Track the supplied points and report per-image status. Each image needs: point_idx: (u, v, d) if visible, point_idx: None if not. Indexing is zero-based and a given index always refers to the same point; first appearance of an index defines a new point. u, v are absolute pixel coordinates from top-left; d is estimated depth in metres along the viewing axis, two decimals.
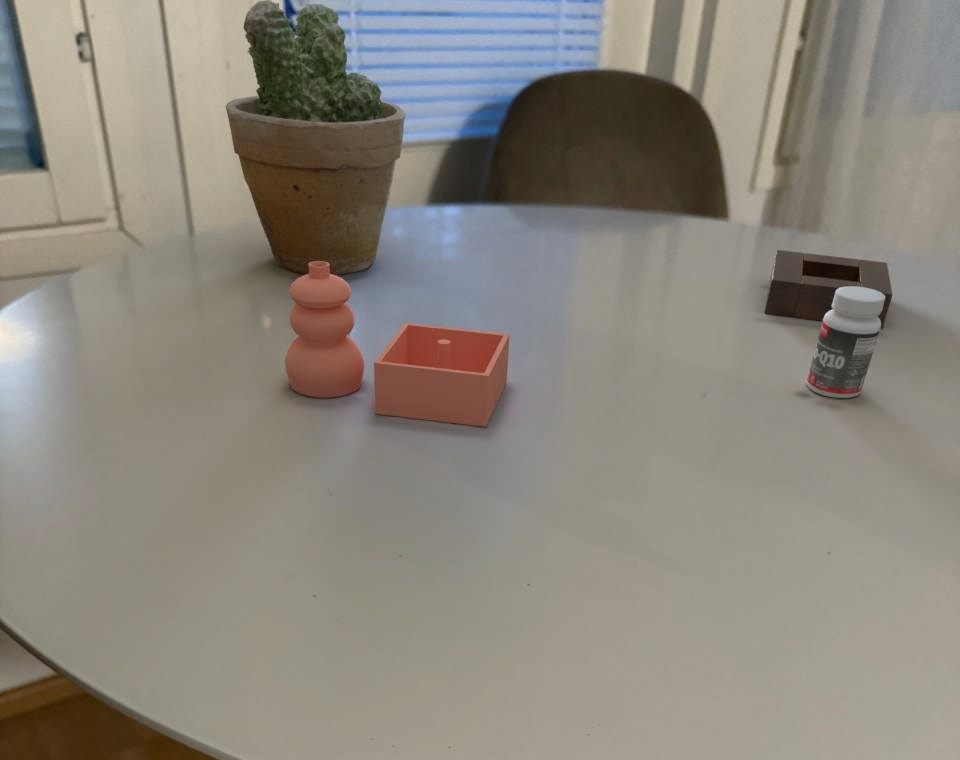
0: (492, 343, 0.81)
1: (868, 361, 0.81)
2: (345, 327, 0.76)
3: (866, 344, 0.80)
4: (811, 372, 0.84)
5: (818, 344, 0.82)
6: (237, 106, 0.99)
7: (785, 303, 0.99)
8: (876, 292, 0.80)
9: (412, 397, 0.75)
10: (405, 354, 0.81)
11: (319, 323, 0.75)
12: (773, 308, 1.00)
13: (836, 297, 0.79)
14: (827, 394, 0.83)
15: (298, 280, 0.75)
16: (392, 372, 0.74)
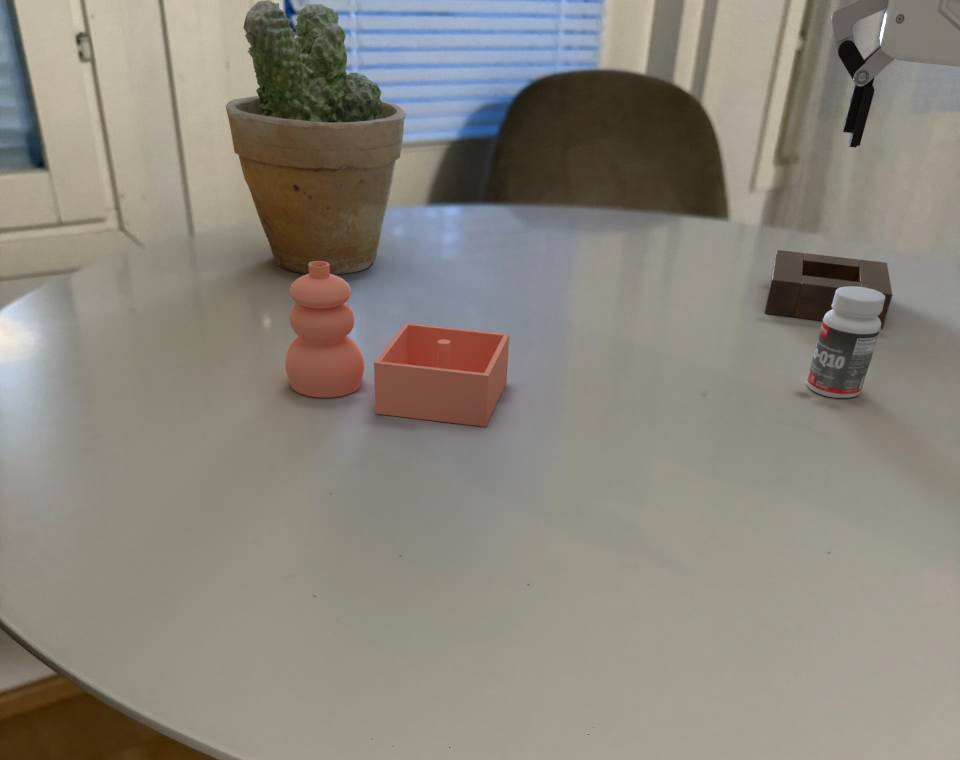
0: (492, 343, 0.81)
1: (868, 361, 0.81)
2: (345, 327, 0.76)
3: (866, 344, 0.80)
4: (811, 372, 0.84)
5: (818, 344, 0.82)
6: (237, 106, 0.99)
7: (785, 303, 0.99)
8: (876, 292, 0.80)
9: (412, 397, 0.75)
10: (405, 354, 0.81)
11: (319, 323, 0.75)
12: (773, 308, 1.00)
13: (836, 297, 0.79)
14: (827, 394, 0.83)
15: (298, 280, 0.75)
16: (392, 372, 0.74)
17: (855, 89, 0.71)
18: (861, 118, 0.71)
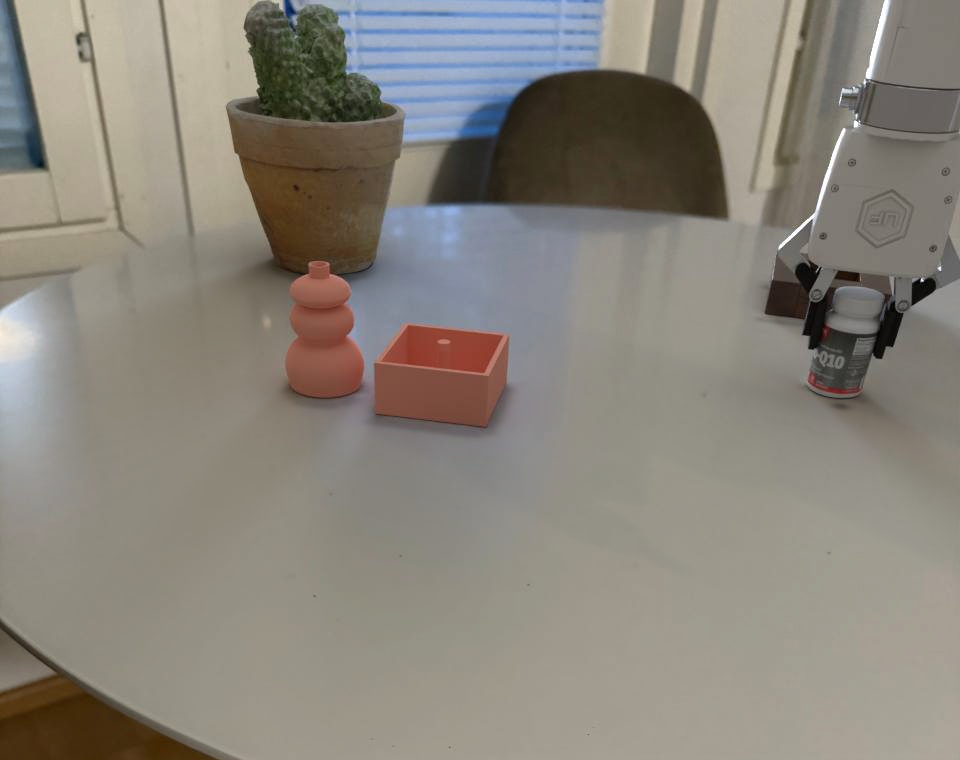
0: (492, 343, 0.81)
1: (868, 361, 0.81)
2: (345, 327, 0.76)
3: (866, 344, 0.80)
4: (811, 372, 0.84)
5: (818, 344, 0.82)
6: (237, 106, 0.99)
7: (785, 303, 0.99)
8: (875, 292, 0.80)
9: (412, 397, 0.75)
10: (405, 354, 0.81)
11: (319, 323, 0.75)
12: (773, 308, 1.00)
13: (836, 297, 0.79)
14: (827, 394, 0.83)
15: (298, 280, 0.75)
16: (392, 372, 0.74)
17: (811, 303, 0.80)
18: (817, 327, 0.81)
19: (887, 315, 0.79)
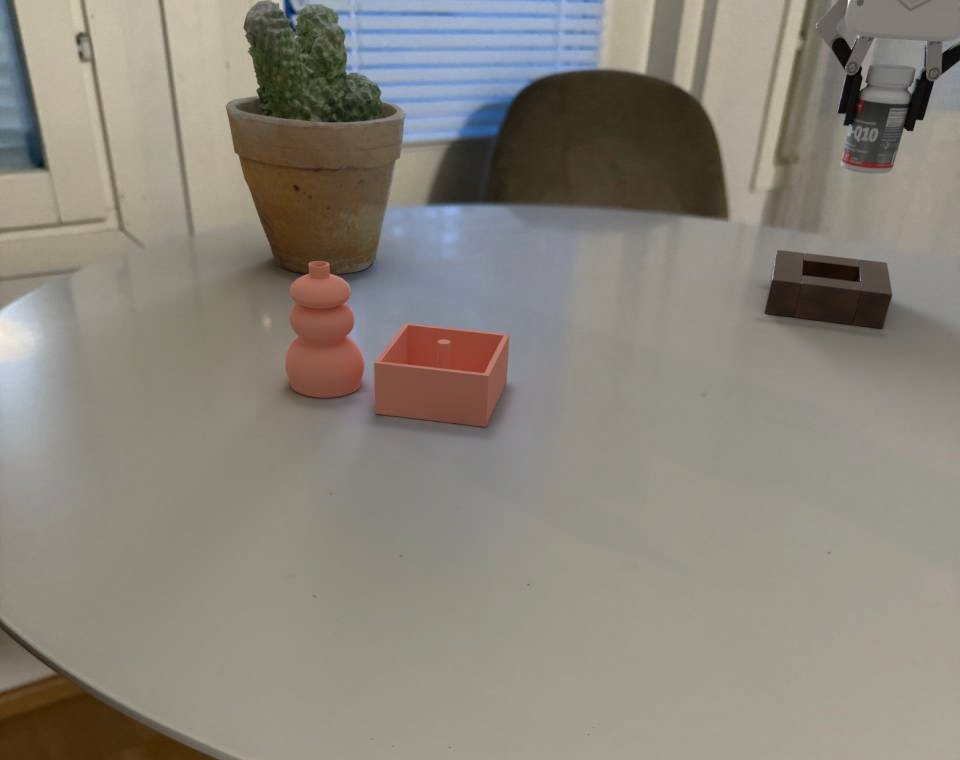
0: (492, 343, 0.81)
1: (900, 135, 0.87)
2: (345, 327, 0.76)
3: (899, 115, 0.86)
4: (845, 151, 0.89)
5: (853, 121, 0.88)
6: (237, 106, 0.99)
7: (785, 303, 0.99)
8: (906, 66, 0.85)
9: (412, 398, 0.75)
10: (405, 354, 0.81)
11: (319, 323, 0.75)
12: (773, 308, 1.00)
13: (870, 70, 0.85)
14: (861, 169, 0.88)
15: (298, 280, 0.75)
16: (392, 372, 0.74)
17: (846, 77, 0.86)
18: (852, 101, 0.86)
19: (918, 84, 0.84)
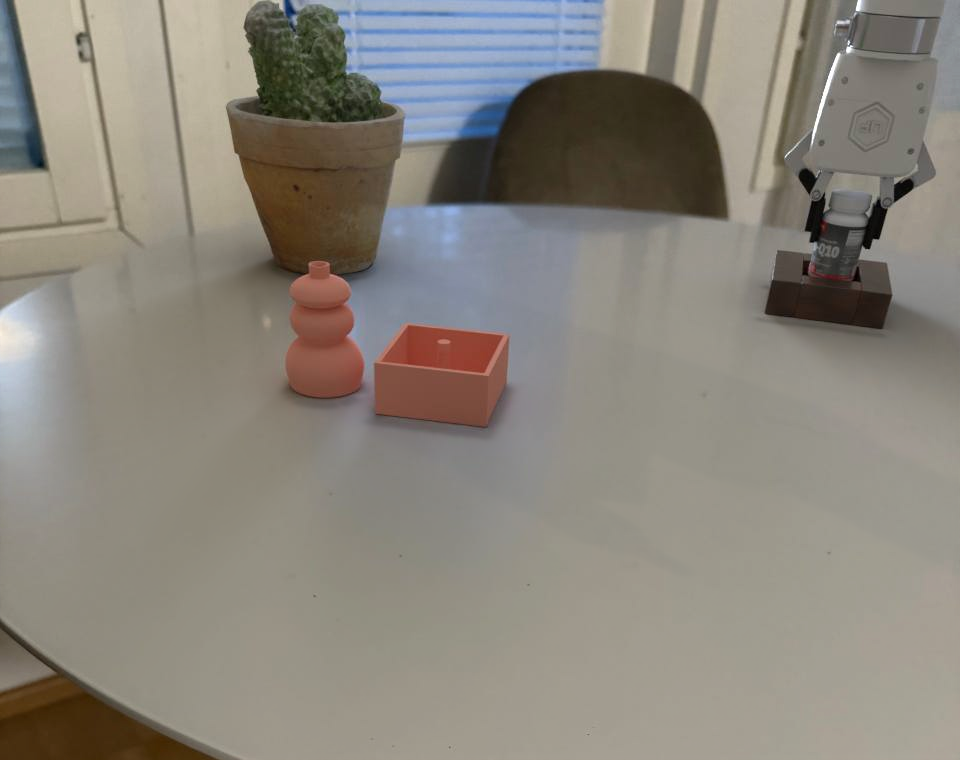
0: (492, 343, 0.81)
1: (858, 251, 0.99)
2: (345, 327, 0.76)
3: (857, 236, 0.97)
4: (811, 263, 1.01)
5: (818, 238, 0.99)
6: (237, 106, 0.99)
7: (785, 303, 0.99)
8: (864, 193, 0.97)
9: (412, 397, 0.75)
10: (405, 354, 0.81)
11: (319, 323, 0.75)
12: (773, 308, 1.00)
13: (832, 197, 0.97)
14: None
15: (298, 280, 0.75)
16: (392, 372, 0.74)
17: (812, 202, 0.98)
18: (816, 223, 0.98)
19: (874, 211, 0.96)
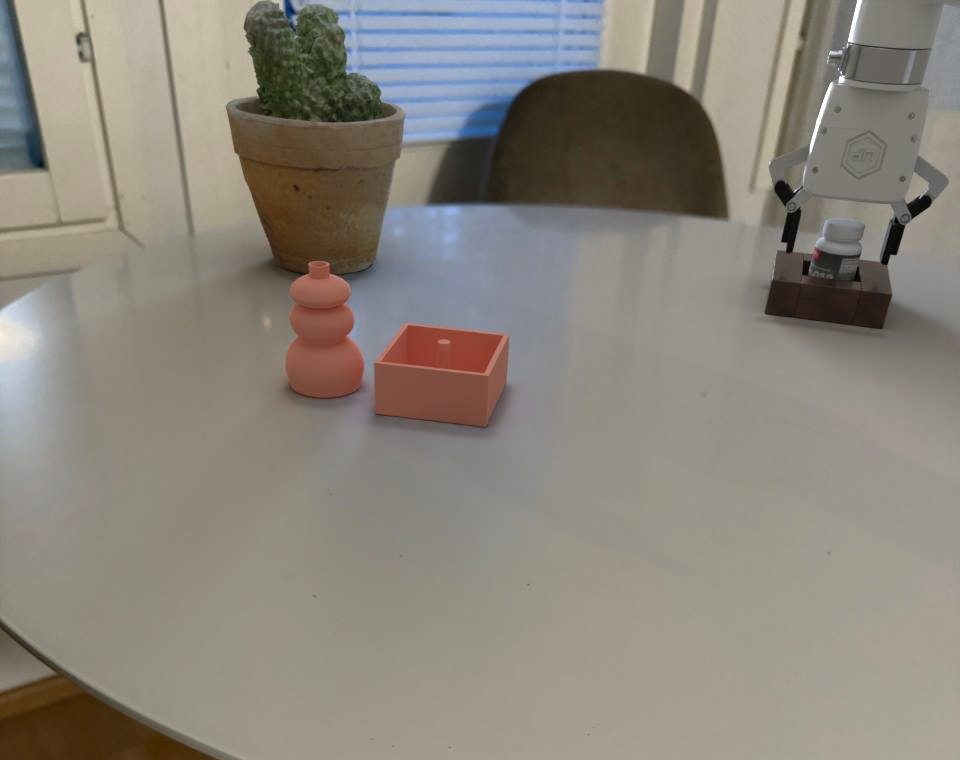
0: (492, 343, 0.81)
1: (852, 279, 1.00)
2: (345, 327, 0.76)
3: (850, 264, 0.99)
4: None
5: (811, 266, 1.01)
6: (237, 106, 0.99)
7: (785, 303, 0.99)
8: (857, 222, 0.99)
9: (412, 397, 0.75)
10: (405, 354, 0.81)
11: (319, 323, 0.75)
12: (773, 308, 1.00)
13: (826, 225, 0.98)
14: None
15: (298, 280, 0.75)
16: (392, 372, 0.74)
17: (787, 214, 0.99)
18: (792, 234, 0.99)
19: (892, 227, 0.96)
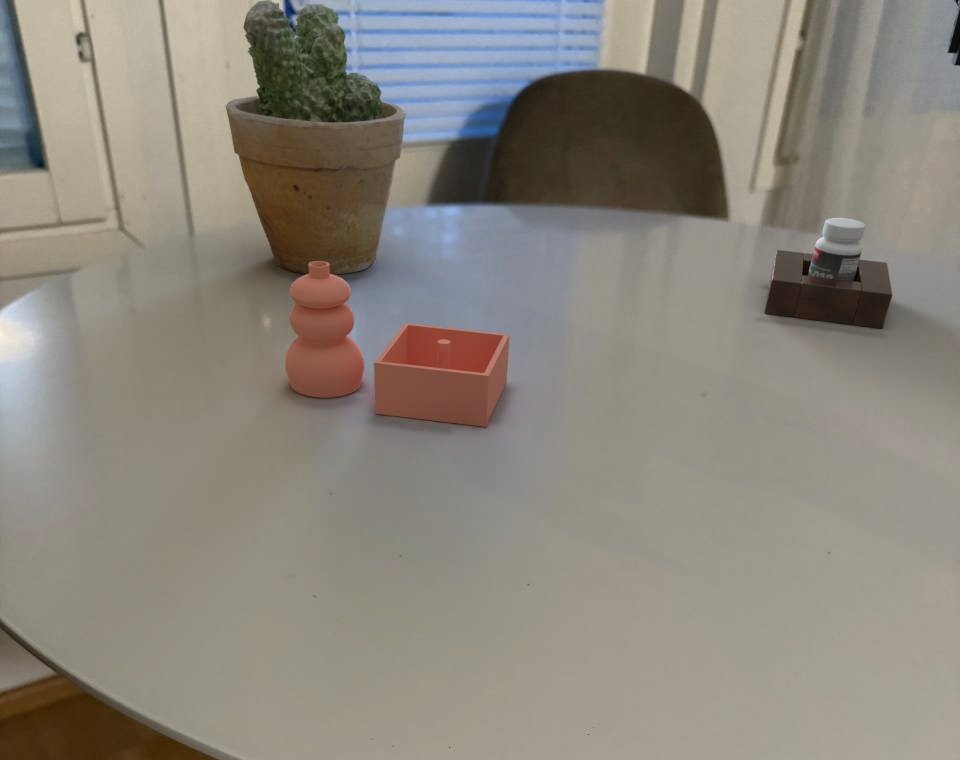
0: (492, 343, 0.81)
1: (852, 279, 1.00)
2: (345, 327, 0.76)
3: (850, 264, 0.99)
4: None
5: (811, 266, 1.01)
6: (237, 106, 0.99)
7: (785, 303, 0.99)
8: (857, 222, 0.99)
9: (412, 397, 0.75)
10: (405, 354, 0.81)
11: (319, 323, 0.75)
12: (773, 308, 1.00)
13: (826, 225, 0.98)
14: None
15: (298, 280, 0.75)
16: (392, 372, 0.74)
17: (959, 12, 0.80)
18: None
19: None
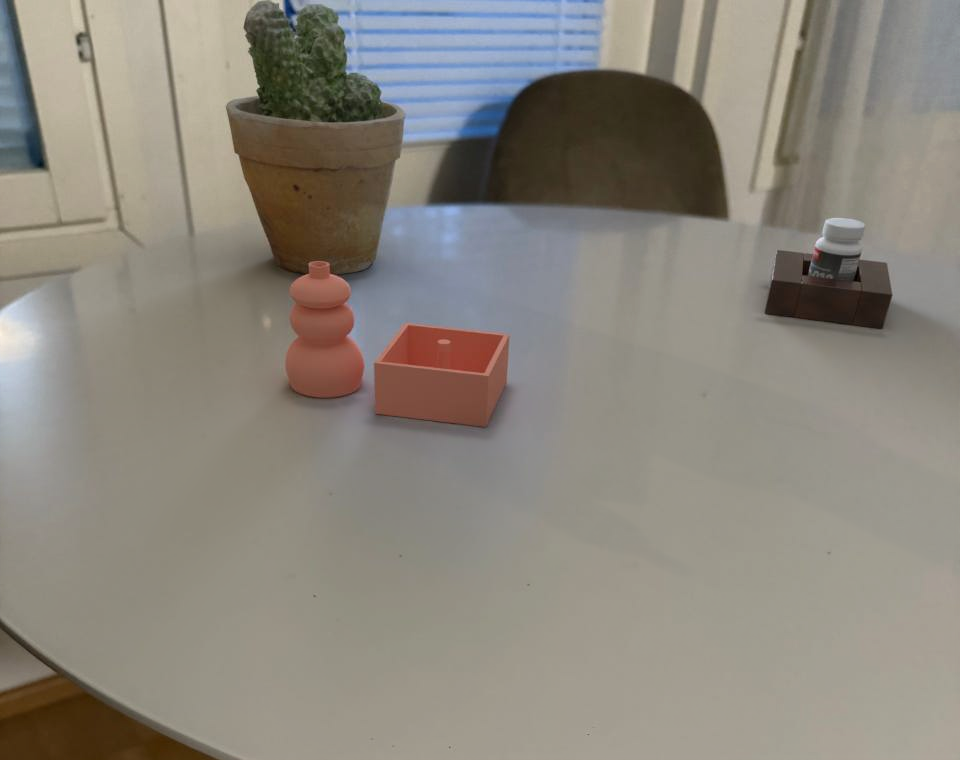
0: (492, 343, 0.81)
1: (852, 279, 1.00)
2: (345, 327, 0.76)
3: (850, 264, 0.99)
4: None
5: (811, 266, 1.01)
6: (237, 106, 0.99)
7: (785, 303, 0.99)
8: (857, 222, 0.99)
9: (412, 398, 0.75)
10: (405, 354, 0.81)
11: (319, 323, 0.75)
12: (773, 308, 1.00)
13: (826, 225, 0.98)
14: None
15: (298, 280, 0.75)
16: (392, 372, 0.74)
17: None
18: None
19: None
